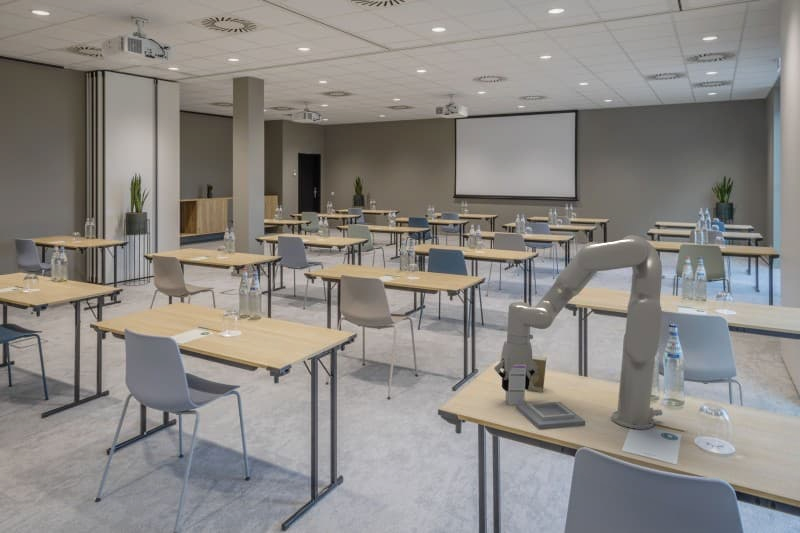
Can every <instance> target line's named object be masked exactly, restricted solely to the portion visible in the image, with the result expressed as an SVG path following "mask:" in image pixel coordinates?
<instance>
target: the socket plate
mask: <svg viewBox="0 0 800 533" xmlns="http://www.w3.org/2000/svg"><path fill="white" fill-rule="evenodd" d="M515 409H516V411H517V412H519V413H520V414H521V415H522V416H523V417H525V418H526V419H527V420H528V421H529V422H530V423H531V424H532V425H534V426H535V428H537V429H538V430H547V429H561V428H570V427H571V428H573V427H582V426H583V427H584V426H586V422H587V421H586V420H585V419H584V418H582V417H581V416H579V415H578V414H577V413H575V412H574V411H573V410H572V409H570V408H569V407H567V406H566V405H565V404H564V403H562V402H561V401H548V402H534V403H524V404H522V405H516V408H515Z"/></svg>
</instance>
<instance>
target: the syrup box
mask: <svg viewBox="0 0 800 533" xmlns="http://www.w3.org/2000/svg"><path fill="white" fill-rule="evenodd" d="M525 376H526V364H516V365H514V366H513V367H512V369H511V370H510V372H509V376H508V378H507V379H508V380H509V383H508V391H505V400H506V401H505V402H507V405H511V406H517V405H522V404H525V397H526V396H525V395H526V394H525V393H526V389H525Z"/></svg>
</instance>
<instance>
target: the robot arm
mask: <svg viewBox="0 0 800 533" xmlns="http://www.w3.org/2000/svg"><path fill="white" fill-rule="evenodd" d="M662 266H663V265H662V261H661V257H660V255H659V253H658V250H656V248H655V247H654V246H653V245H652V244H651V243H650V242H649V241H648V240H646V239H645V238H643V237H641V236H638V235H635V234H632V235H626V236H625V237H623V238H621V239H620V240H615V241H609V242H601V243H600V242H596V241H589V242H587V243H586V244H584V245H583V246H582V247H581V248H580V249H579V251H577V253H576V254H575V256H573V258H572V259H571V261H569V263H568V264H567V266H566V267H564V269H563V270H562V271H561V272H560V273H559V275H558V276H557V277H556V279H555V281H554V283H553V285H552V286H551V287H550V288H549V290H548V291H547V292H546V293H545V294H544V296H543V297H541V299H540V300H539V301H538V302H537V304H536V305H535V306H531V305H530V304H529V303H527V302H523V301H522V302H521V301H514V302H511V303H509V305H508V313H507V330H506V331H507V333H506V341H504V343H503V346H502V351H501V355H500V362H499V363H497V365H495V366H494V367H493V368H494V371H495V372H496V373H497V375H498V376H500V377H501V388H502V390H504V391H505V392H506V391H508V383H509V380H508V379H507V378H508V376H509V372H510V370H511V369H512V367H513V366H514V365H516V364H526V376H525V391H529V390H528V386H529V381H530V378H531V376H532V375H533V374H534V373H535V371H536V370H537V369H538V367H539V366H538V365H537V364H536V363H534V362H533V361H532V355H533V348H532V343H531V340H533V339H534V335H533V334H531V328H535V329H539V330H545V329H548V328H550V327H551V325H552V324H553V322H554V321H555V319H556V317H557V316H558V315H559V313H561V311H562V310H563V309H564V308H565V307H566V305H567V304H568V303H569V302H571V300H572V299H573V298H574V297H576V296H577V295H579V294H580V293H581V292H582V290H583V289H584V288H585V287H586V286H587V285H588V284H589V282H590V281H591V280H592V279H593V277H594V276H595V275H596V274H597V273H598V272H605V271H612V270H617V269H618V270H620V269H626V268H627V269H628V268H631V269H632V272H631V273H632V274H631V275H632V276H631V285H630V286H631V287H630V288H631V289H630V296H629V300H628V305H627V313H626V314H627V315H626V324H625V333H624V335H623V341H622V342H623V343H622V357H621V369H620V378H619V379H620V380H619V390H618V400H617V410H616V411H614V412H612V414H611V419H612V421H613V422H615V423H616V424H618V425H620V426H623V427H626V428H628V427H629V429H633V428H635V429H636V430H648V429H651V428H653V426H654V419H653V418H654V417H655V416H656V417H658V416H662V415H663V410H662V409H654V407H651V400H652V392H653V390H652V389H653V381H654V380H653V379H654V373H655V372H654V370H655V361H656V356H657V354H658V350H659V345H660V344H659V343H660V336H661V328H662V321H663V320H662V319H663V317H662V316H663V312H662V306H661V291H662V280H663V279H662V278H663V267H662ZM501 370H503V371H501ZM647 428H648V429H647Z"/></svg>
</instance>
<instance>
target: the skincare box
mask: <svg viewBox="0 0 800 533" xmlns="http://www.w3.org/2000/svg"><path fill="white" fill-rule="evenodd" d="M532 361H533V362H534V363H536V364H537V365H538V366H539V367H538V369H537V370H536V371H535V373H534V374H533V375H532V376H531V378H530V381H529V386H528V390H527V391H533V392H538V393H543V392H544V389H545V388H544V387H545V386H544V385H545V377H546V367H547V366H546V365H547V357H546V356H539V355H533V354H532Z"/></svg>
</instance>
